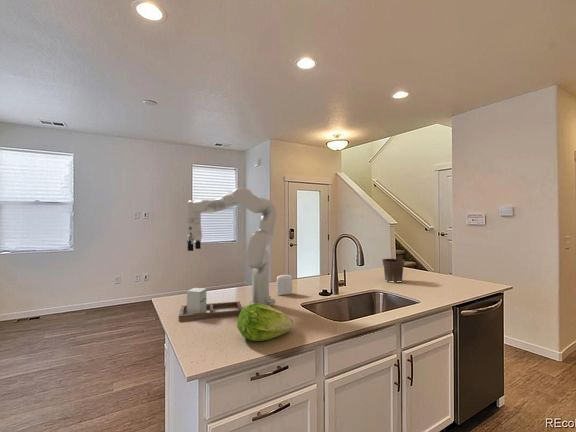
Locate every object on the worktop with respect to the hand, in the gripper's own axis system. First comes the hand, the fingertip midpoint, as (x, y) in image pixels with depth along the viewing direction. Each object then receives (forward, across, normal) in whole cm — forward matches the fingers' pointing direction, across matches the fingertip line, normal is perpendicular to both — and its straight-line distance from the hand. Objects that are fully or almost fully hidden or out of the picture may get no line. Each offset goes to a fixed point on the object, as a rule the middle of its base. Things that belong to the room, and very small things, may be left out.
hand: (194, 249), depth 176 cm
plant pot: (+30, +66, -128) cm, 147 cm away
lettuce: (+30, -46, -54) cm, 77 cm away
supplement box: (+30, -24, -13) cm, 41 cm away
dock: (+30, -22, -20) cm, 42 cm away
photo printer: (+30, +19, -52) cm, 63 cm away
